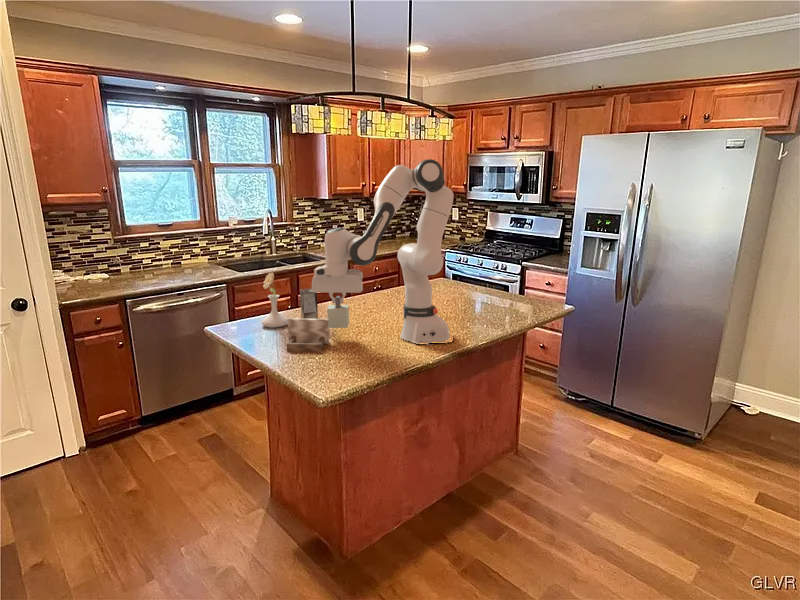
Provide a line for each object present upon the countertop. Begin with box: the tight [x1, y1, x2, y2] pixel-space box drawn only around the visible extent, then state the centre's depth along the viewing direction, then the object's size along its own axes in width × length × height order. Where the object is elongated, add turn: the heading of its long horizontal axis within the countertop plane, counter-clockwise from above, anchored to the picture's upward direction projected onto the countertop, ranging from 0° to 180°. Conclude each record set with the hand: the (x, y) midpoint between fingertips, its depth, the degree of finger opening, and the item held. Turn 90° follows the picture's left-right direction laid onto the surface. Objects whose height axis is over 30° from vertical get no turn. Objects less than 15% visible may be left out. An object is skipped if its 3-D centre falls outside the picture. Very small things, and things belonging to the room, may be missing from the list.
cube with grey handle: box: [326, 295, 350, 329], centre depth 192 cm, size 8×6×12 cm
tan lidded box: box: [286, 317, 330, 353], centre depth 185 cm, size 16×11×10 cm
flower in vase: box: [261, 271, 288, 328], centre depth 208 cm, size 13×11×25 cm
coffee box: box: [299, 288, 319, 319], centre depth 211 cm, size 9×6×16 cm
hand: (337, 302), depth 192 cm, fingers closed on cube with grey handle
